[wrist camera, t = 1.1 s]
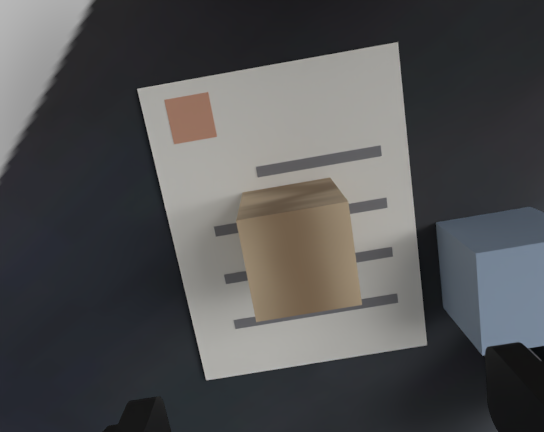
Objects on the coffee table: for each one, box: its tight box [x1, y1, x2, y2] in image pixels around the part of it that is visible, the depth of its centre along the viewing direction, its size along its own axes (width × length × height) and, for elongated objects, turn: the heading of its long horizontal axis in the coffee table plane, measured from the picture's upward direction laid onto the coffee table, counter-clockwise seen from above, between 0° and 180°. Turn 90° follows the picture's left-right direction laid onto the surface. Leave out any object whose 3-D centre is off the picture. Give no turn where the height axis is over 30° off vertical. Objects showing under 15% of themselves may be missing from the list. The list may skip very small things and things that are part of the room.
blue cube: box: [436, 207, 544, 355], centre depth 25 cm, size 6×6×6 cm
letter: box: [137, 42, 427, 380], centre depth 27 cm, size 14×18×1 cm
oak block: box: [236, 178, 362, 322], centre depth 24 cm, size 5×5×6 cm
